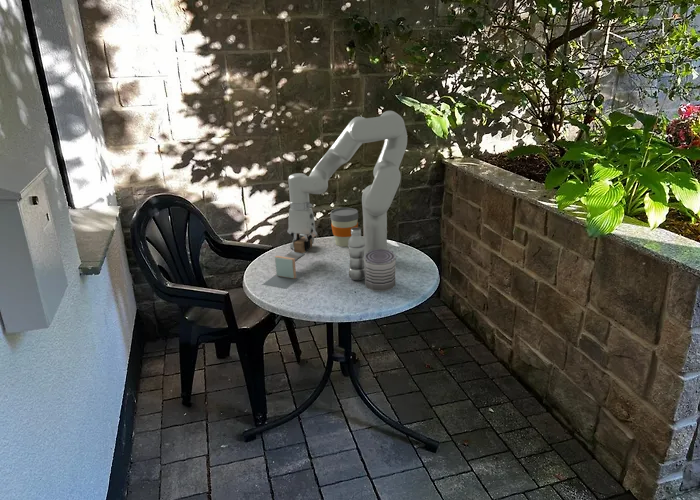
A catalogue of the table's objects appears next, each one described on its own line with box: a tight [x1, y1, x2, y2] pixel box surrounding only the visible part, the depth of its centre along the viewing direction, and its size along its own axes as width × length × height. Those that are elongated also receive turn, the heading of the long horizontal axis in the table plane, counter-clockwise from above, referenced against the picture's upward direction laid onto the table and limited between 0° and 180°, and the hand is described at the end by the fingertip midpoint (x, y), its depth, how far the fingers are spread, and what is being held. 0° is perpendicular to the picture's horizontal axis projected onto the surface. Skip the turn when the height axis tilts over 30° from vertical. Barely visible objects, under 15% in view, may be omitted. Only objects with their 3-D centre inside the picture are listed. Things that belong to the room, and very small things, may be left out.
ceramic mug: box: [289, 232, 315, 249], centre depth 218 cm, size 11×8×8 cm
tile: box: [274, 255, 297, 279], centre depth 188 cm, size 8×2×8 cm, turn 66°
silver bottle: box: [347, 227, 365, 281], centre depth 183 cm, size 6×7×20 cm
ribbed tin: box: [364, 249, 397, 293], centre depth 179 cm, size 11×11×12 cm
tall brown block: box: [283, 236, 313, 263], centre depth 196 cm, size 16×6×4 cm, turn 156°
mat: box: [261, 270, 306, 290], centre depth 188 cm, size 10×15×1 cm
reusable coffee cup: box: [329, 207, 359, 248], centre depth 220 cm, size 13×13×15 cm
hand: (303, 248), depth 199 cm, fingers closed on tall brown block, 3 cm apart
